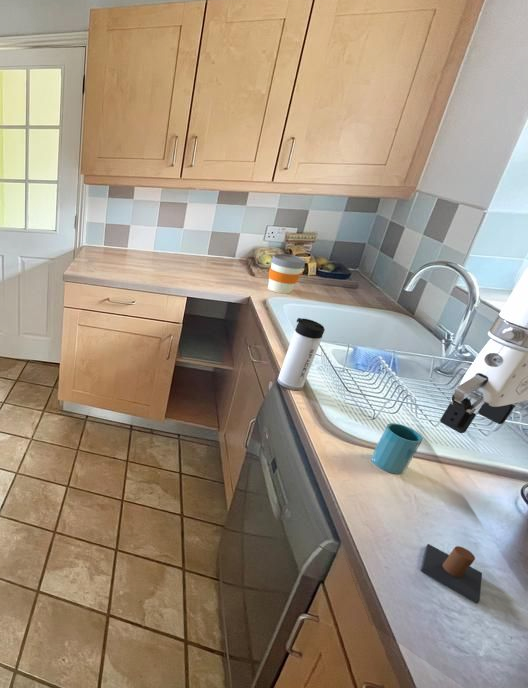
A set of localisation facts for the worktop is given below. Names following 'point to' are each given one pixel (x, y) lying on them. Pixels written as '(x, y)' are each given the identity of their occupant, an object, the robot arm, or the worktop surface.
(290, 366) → the travel mug
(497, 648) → the worktop surface
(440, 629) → the worktop surface
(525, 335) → the robot arm
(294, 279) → the reusable coffee cup
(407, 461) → the cup
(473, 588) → the dark grey flat slab
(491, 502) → the worktop surface
